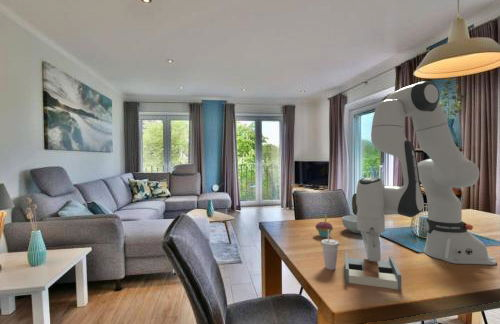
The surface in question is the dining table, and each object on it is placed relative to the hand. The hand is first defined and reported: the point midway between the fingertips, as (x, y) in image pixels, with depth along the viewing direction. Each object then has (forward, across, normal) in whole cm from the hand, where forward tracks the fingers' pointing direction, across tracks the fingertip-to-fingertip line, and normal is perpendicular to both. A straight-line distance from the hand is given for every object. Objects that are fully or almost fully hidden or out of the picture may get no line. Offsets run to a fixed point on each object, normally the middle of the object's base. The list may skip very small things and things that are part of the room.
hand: (371, 264), depth 92 cm
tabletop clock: (+4, +77, -5) cm, 77 cm away
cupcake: (+4, +40, +18) cm, 44 cm away
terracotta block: (+1, -6, +1) cm, 6 cm away
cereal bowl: (+4, +53, +1) cm, 53 cm away
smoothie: (+4, +2, +14) cm, 14 cm away
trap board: (+3, -1, 0) cm, 4 cm away
